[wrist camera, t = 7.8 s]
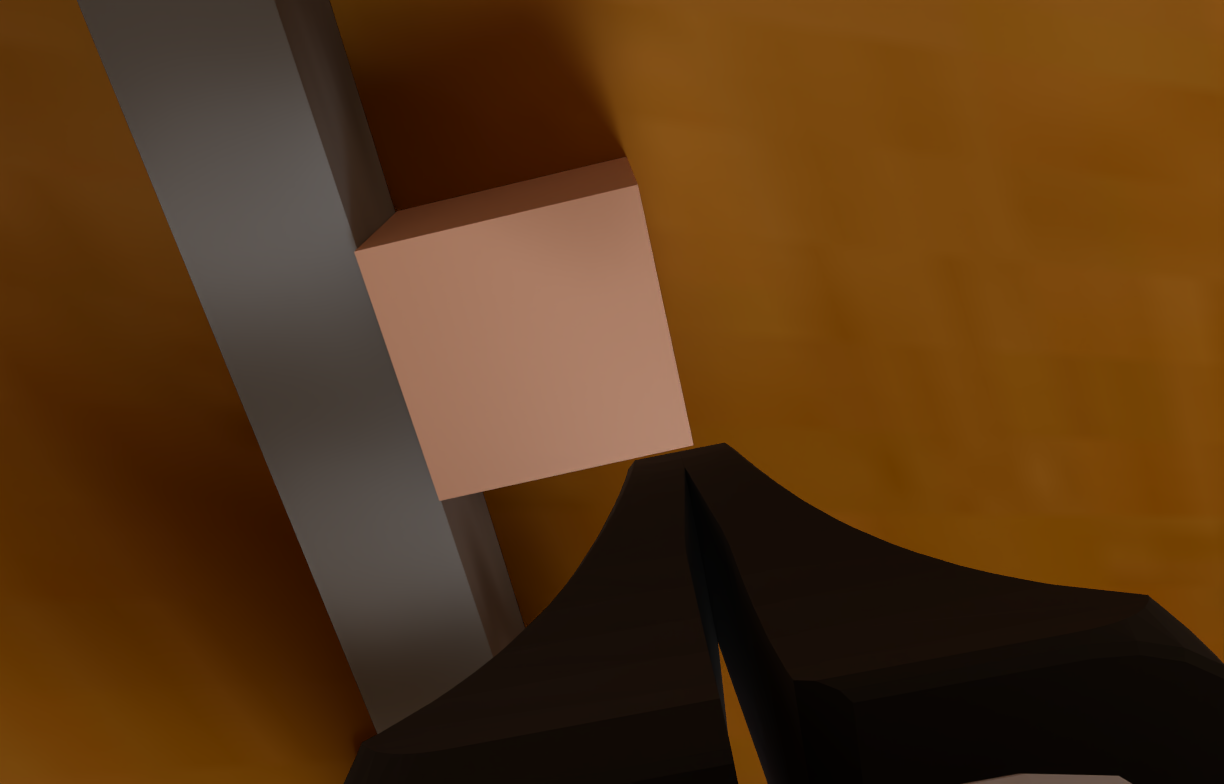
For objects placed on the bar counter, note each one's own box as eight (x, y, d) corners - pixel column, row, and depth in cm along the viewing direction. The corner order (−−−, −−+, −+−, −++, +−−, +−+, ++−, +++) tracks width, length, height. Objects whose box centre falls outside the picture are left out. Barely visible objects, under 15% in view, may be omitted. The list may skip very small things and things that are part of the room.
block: (672, 371, 21) (693, 444, 17) (464, 418, 21) (439, 500, 17) (626, 155, 19) (637, 184, 15) (398, 210, 19) (354, 251, 15)
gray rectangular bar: (540, 677, 23) (533, 780, 20) (430, 699, 24) (406, 805, 20) (269, -191, 16) (191, -250, 13) (112, -151, 16) (-5, -199, 13)
